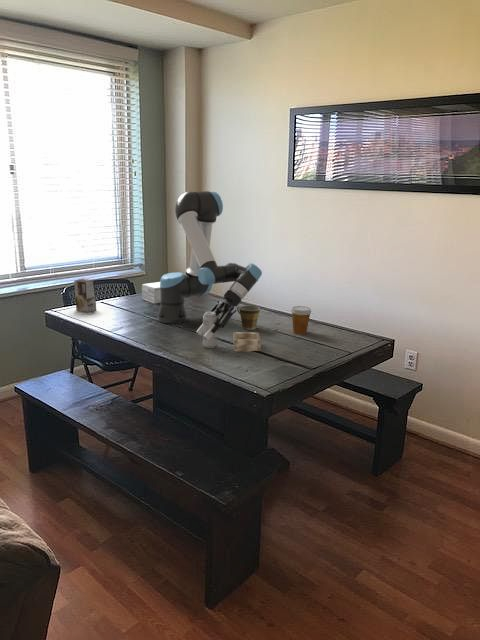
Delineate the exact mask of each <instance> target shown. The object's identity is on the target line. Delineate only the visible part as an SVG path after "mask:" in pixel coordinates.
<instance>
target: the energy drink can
mask: <svg viewBox="0 0 480 640" xmlns="http://www.w3.org/2000/svg"><path fill="white" fill-rule="evenodd" d="M217 319H218V316H216V313H215V312H208V311H205V312H204V314H203V316H202V324H203V334H202V345H203V347H204V348H206V349H214V348H215V347H216V346H217V343H218V342H217V340H218V339H217V338H218V337H217V336H218V335H217V334H218V333H217V331H218V330H217V331H216V332H215V333H214V334H213V335H212V336H211V338H210V339H209V340H208V339H207V338H206V337H205V336H204V335H205V334H206V333H207V331H208V330H209V329H210V328H211V326H212V325H213V324H214V323H216V321H217ZM214 325H215V324H214Z"/></svg>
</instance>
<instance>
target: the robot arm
mask: <svg viewBox="0 0 480 640" xmlns="http://www.w3.org/2000/svg"><path fill="white" fill-rule="evenodd" d="M223 205H224V203H223V200H222V197H221V195H220V194H219V193H217V192H215V191H209V190H206V191H201V190H199V191H193V190H191V191H186V192H183V193H182V194H181V195H180V196H179V197H178V198H177V201H176V202H175V205H174V206H175V209H174V211H175V212H174V214H175V218H176V220H177V222H178V224H179V225H181V226H182V229H183V230H184V233H185V236H186V238H187V241H188V243H189V245H190V247H191V252H190V262H189V267H187V268H186V270H185V274H184V273H183V272H177V271H175V272H168V273H165V274H163V275H162V276H161V277H160V281H159V282H160V294H161V303H160V306H159V309H158V313H157V321H158V322H160V323H164V324H180V323H184V322H187V321H188V313H187V310H186V309H187V308H186V307H185V299H188V298H195V297H196V298H197V297H202V296H206V295H208V294H209V293H210V292H211V291H212V287H213V285H217V284H221V283H222V284H224V283H230V282H231V283H232V282H233V283H232V284H231V285H230V287H229V289H228V290H226V292H225V293H224V295H223V299H222V300H221V301H219V300H216V301H215V303H214V304H213V305H212V307H211V308H210V309H209V310H208V311H207V312H215V313H216V316H217V321H216V323H214V324H215V325H214V324H213V325H212V326H211V328H210V329H209V330H208V331H207V333H206V334H205V335H204V336H205V337H206V338H207V339H208V340H209V339H210V338H211V336H212V335H213V334H214V333H215V332H216V331H218V330H219V329H220V328H221V329H223V328H224V327H225V326H226V324H227V323H228V322H229V321H230V319H231V318H232V316H233V315H234V314H235V313H236V312H237V308H235V307H239V306H238V305H240V304H241V302H242V300H244V298H245V297H246V295H247V294H248V293H249V292H250V290H252V288H253V287H254V286H255V285H256V284H257V282H258V281H259V279H260V278H261V276H262V275H263V273H262V270H261V268H260V267H258V266H257V265H256V264H254V263H248V265H246V266H243V265H239V264H237V263H236V262H235V263H234V262H228V263H227V264H225V265H218V263H217V262H216V260H215V257H214V254H213V252H212V249H211V247H210V244H211V237H212V229H213V224H215V223H216V222H217V217H220V216H221V214H222V213H223V207H224V206H223ZM196 333H197V334H198V335H200V336H203V323H202V324H201V325H200V326H199V327H198V329H197V330H196Z"/></svg>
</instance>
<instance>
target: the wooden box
mask: <svg viewBox="0 0 480 640" xmlns="http://www.w3.org/2000/svg"><path fill="white" fill-rule="evenodd" d="M232 338H233V339H232V340H233V341H232V343H233V350H234V352H251V351H260V352H261V337H260V334H259V332H243V331H242V332H241V331H240V332H235V331H234V332H233V337H232Z"/></svg>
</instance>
